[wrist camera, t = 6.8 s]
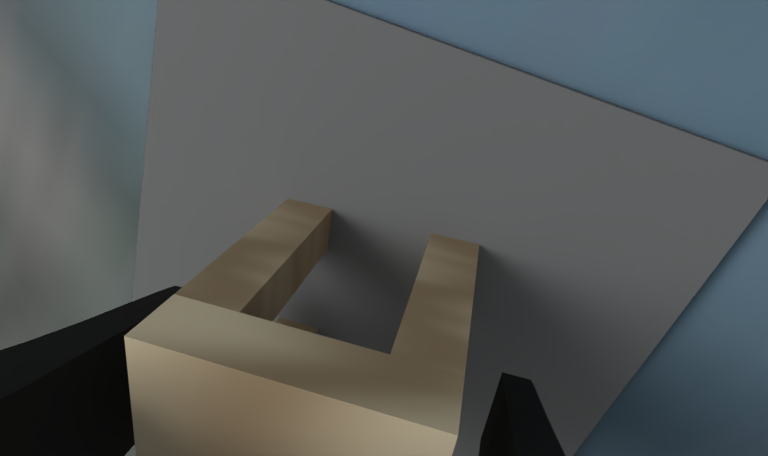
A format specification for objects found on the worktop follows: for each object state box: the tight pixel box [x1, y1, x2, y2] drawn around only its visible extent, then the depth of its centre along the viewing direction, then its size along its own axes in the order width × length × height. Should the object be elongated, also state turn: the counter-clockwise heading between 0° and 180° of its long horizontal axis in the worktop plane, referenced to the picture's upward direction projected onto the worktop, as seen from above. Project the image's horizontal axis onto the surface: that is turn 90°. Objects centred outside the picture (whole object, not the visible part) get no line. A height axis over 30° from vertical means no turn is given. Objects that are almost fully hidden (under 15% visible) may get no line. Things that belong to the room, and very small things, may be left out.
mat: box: [132, 0, 768, 456], centre depth 13 cm, size 14×14×1 cm
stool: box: [124, 199, 479, 456], centre depth 10 cm, size 5×5×6 cm
